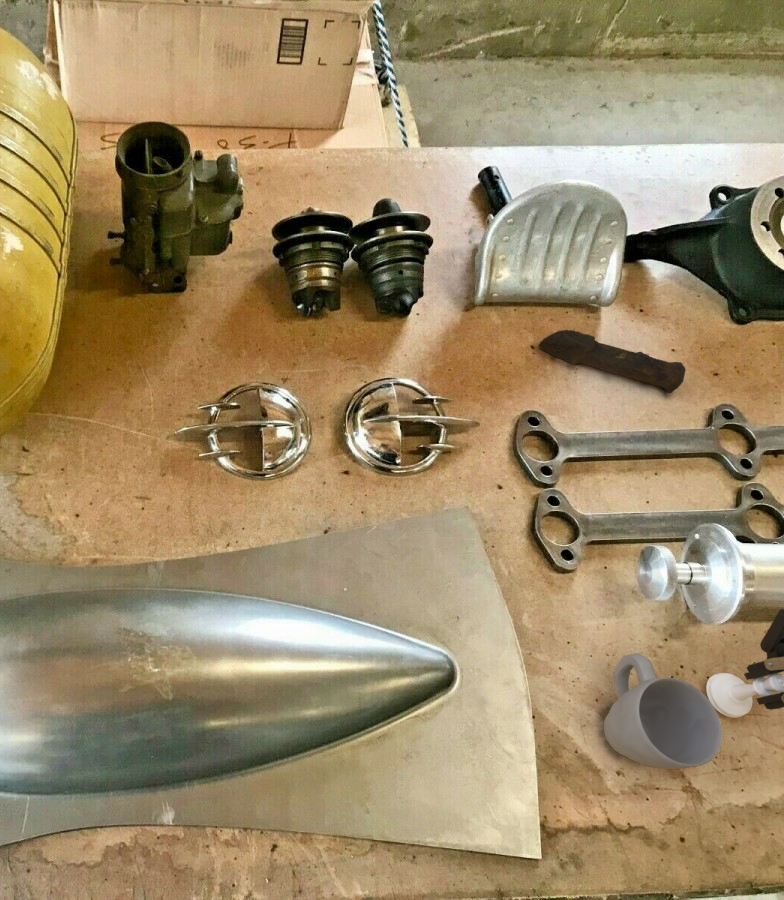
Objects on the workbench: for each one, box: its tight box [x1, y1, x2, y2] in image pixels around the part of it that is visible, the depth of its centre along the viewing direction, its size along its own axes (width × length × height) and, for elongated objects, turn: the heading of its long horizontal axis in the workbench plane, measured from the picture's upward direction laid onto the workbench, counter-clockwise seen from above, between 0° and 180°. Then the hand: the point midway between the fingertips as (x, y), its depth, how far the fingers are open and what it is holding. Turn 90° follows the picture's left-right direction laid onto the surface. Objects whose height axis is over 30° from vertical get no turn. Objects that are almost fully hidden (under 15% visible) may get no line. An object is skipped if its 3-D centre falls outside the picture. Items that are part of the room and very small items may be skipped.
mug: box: [603, 652, 723, 770], centre depth 85 cm, size 12×9×10 cm
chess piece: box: [705, 672, 784, 719], centre depth 86 cm, size 5×5×10 cm
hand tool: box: [538, 329, 687, 394], centre depth 110 cm, size 19×4×5 cm, turn 70°
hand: (758, 687), depth 86 cm, fingers closed on chess piece
